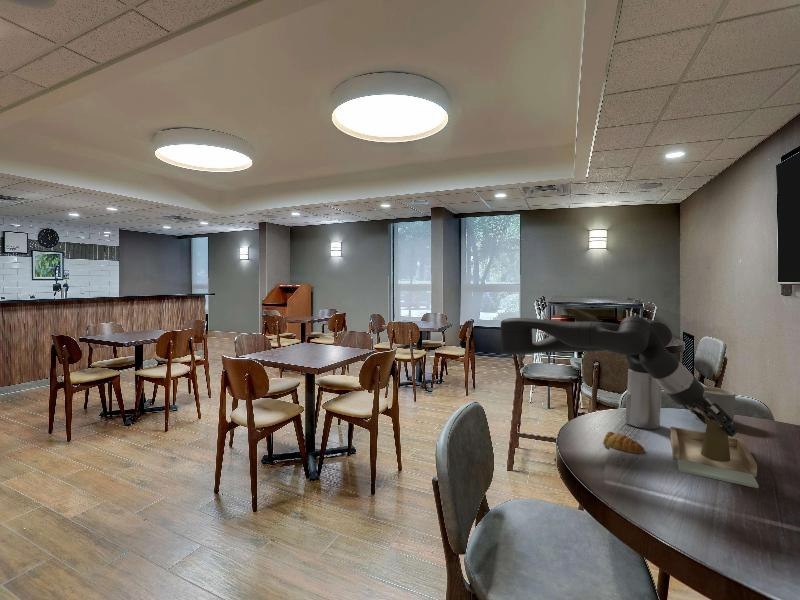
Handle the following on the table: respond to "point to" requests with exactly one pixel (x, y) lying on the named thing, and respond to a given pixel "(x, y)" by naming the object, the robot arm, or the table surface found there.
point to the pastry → (622, 443)
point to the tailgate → (717, 473)
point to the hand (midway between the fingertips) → (720, 427)
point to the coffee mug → (721, 400)
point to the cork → (715, 442)
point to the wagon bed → (689, 449)
